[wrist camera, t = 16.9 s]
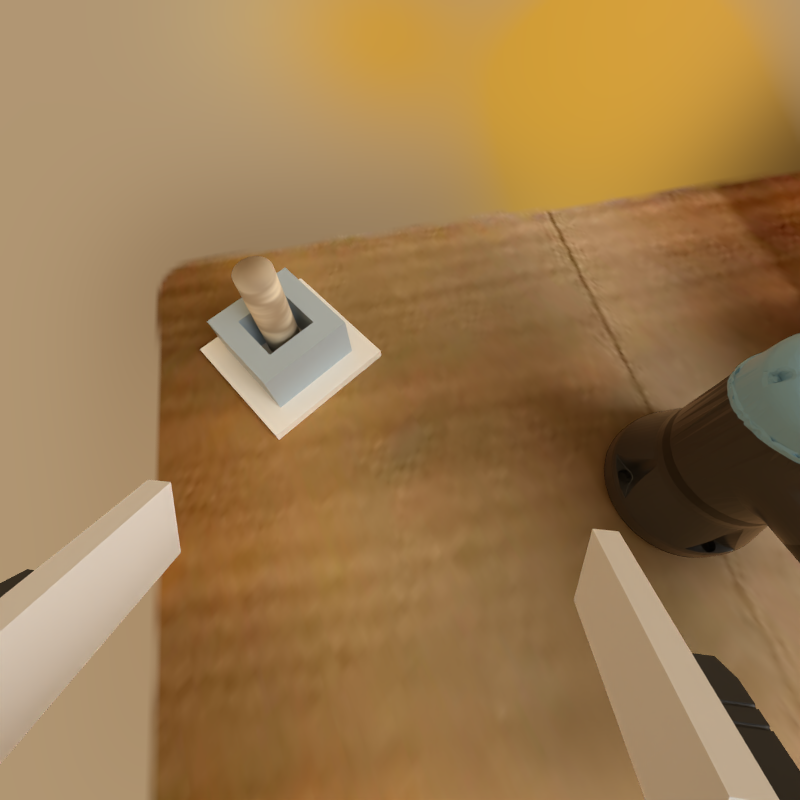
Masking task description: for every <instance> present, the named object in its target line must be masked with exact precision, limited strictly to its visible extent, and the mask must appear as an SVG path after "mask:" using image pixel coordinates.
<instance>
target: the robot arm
mask: <svg viewBox="0 0 800 800" xmlns="http://www.w3.org/2000/svg"><path fill="white" fill-rule="evenodd" d="M605 481H606V486H607V490H608V493H609V496H610V498H611V501H612V503H613V505H614V507H615V508H616V510H617V512H618V513H619V515H620V516H621V517H622V519H623V520H624V521H625V522H626V524H627V525H628V526H629V527H630V528H631V529H632V530H633V531H634V532H635V533H636V534H638V535H639V536H640V537H641V538H643V539H644V540H646V541H647V542H649V543H650V544H652V545H654V546H655V547H657V548H659V549H661V550H664V551H666V552H669V553H672V554H675V555H679V556H684V557H693V558H700V557H710V556H716V555H722V554H727V553H730V552H733V551H735V550H737V549H739V548H741V547H743V546H745V545H746V544H747V543H749V542H750V541H751V540H752V539H753V538H754V537H756V536H757V535H758V534H759V533H760V532H761V531H762V530H763V529H765V528H766V527H767V526H769V528H770V529H771V530H772V531H773V532H774V533H775V535H776V536H777V537H778V538H779V539H780V540H781V542H782V543H783V544H784V545H785V546H786V547H787V548H788V550H789V551H790V552H791V553H792V554H793V555H794V557H795V558H796V559H797V560H798V561H799V563H800V333H798V334H795V335H793V336H790V337H788V338H786V339H784V340H782V341H780V342H779V343H777V344H776V345H774V346H772V347H771V348H769V349H767V350H766V351H764V352H762V353H759V354H756V355H754V356H752V357H750V358H748V359H746V360H745V361H743V362H742V363H741V364H740V365H738V366H737V367H736V369H735V371H734V372H733V373H732V374H731V375H729V376H728V377H727V378H725V379H724V380H722V381H721V382H720V383H718V384H717V385H715V386H714V387H712V388H711V389H709V390H708V391H707V392H705V393H704V394H702V395H701V396H699V397H698V398H696V399H695V400H693V401H692V402H690V403H689V404H688V405H686V406H685V407H684V408H679V409H673V410H668V411H662V412H656V413H652V414H649V415H646V416H644V417H641V418H639V419H637V420H636V421H634V422H633V423H631V424H630V425H629V426H627V427H626V428H625V429H624V430H622V431H621V432H620V433H619V434H618V435H617V436H616V438H615V439H614V440H613V442H612V443H611V445H610V447H609V449H608V452H607V455H606V459H605ZM180 553H181V550H180V543H179V536H178V529H177V522H176V515H175V508H174V501H173V494H172V487H171V482H165V481H156V480H147V481H146V482H144V483H143V484H142V485H141V486H139V487H138V488H137V489H136V490H134V491H133V492H132V493H131V494H129V495H128V496H127V497H126V498H124V499H123V500H122V501H121V502H119V503H118V504H117V505H116V506H114V507H113V508H112V509H111V510H109V511H108V512H107V513H106V514H104V515H103V516H102V517H101V518H99V519H98V520H97V521H96V522H94V523H93V524H92V525H91V526H90V527H88V528H87V529H86V530H84V531H83V532H82V533H81V534H80V535H78V536H77V537H76V538H74V539H73V540H72V541H71V542H69V543H68V544H67V545H66V546H64V547H63V548H62V549H61V550H59V551H58V552H57V553H56V554H55V555H53V556H52V557H51V558H49V559H48V560H47V561H46V562H45V563H43V564H42V565H41V566H39V567H38V568H37V569H36V570H28V569H27V570H25V571H23V572H21V573H19V574H17V575H15V576H14V577H11V578H10V579H8V580H6V581H4V582H2V583H0V764H1V763H2V761H3V760H4V759H5V758H6V757H7V756H8V755H9V753H10V752H11V751H12V750H13V749H14V747H15V746H16V745H17V744H18V743H19V742H20V740H21V739H22V738H23V737H24V736H25V735H26V733H27V732H28V731H29V730H30V729H31V728H32V726H33V725H34V724H35V723H36V722H37V720H38V719H39V718H40V717H41V716H42V715H43V713H44V712H45V711H46V710H47V709H48V708H49V706H50V705H51V704H52V703H53V702H54V700H55V699H56V698H57V697H58V696H59V695H60V693H61V692H62V691H63V690H64V689H65V688H66V686H67V685H68V684H69V683H70V682H71V681H72V679H73V678H74V677H75V676H76V675H77V674H78V672H79V671H80V670H81V669H82V668H83V666H84V665H85V664H86V663H87V662H88V661H89V659H90V658H91V657H92V656H93V655H94V654H95V652H96V651H97V650H98V649H99V648H100V647H101V645H102V644H103V643H104V642H105V641H106V640H107V638H108V637H109V636H110V635H111V634H112V632H113V631H114V630H115V629H116V628H117V627H118V625H119V624H120V623H121V622H122V621H123V620H124V618H125V617H126V616H127V615H128V614H129V613H130V611H131V610H132V609H133V608H134V607H135V605H136V604H137V603H138V602H139V601H140V600H141V598H142V597H143V596H144V595H145V594H146V592H147V591H148V590H149V589H150V588H151V587H152V586H153V584H154V583H155V582H156V581H157V580H158V578H159V577H160V576H161V575H162V574H163V573H164V571H165V570H166V569H167V568H168V567H169V566H170V564H171V563H172V562H173V561H174V560H175V559H176V557H177V556H178V555H179V554H180ZM574 603H575V605H576V608H577V611H578V614H579V617H580V619H581V622H582V625H583V628H584V630H585V633H586V636H587V639H588V642H589V644H590V647H591V650H592V653H593V656H594V658H595V661H596V664H597V667H598V670H599V672H600V675H601V678H602V681H603V684H604V686H605V689H606V692H607V695H608V698H609V700H610V703H611V706H612V709H613V712H614V714H615V717H616V720H617V723H618V726H619V728H620V731H621V734H622V737H623V740H624V742H625V745H626V748H627V751H628V754H629V756H630V759H631V762H632V765H633V768H634V770H635V773H636V776H637V779H638V781H639V784H640V787H641V790H642V793H643V795H644V798H645V800H800V771H799V769H798V768H797V766H796V765H795V763H794V762H793V760H792V759H791V757H790V756H789V754H788V753H787V751H786V750H785V748H784V747H783V745H782V744H781V742H780V741H779V739H778V738H777V736H776V735H775V733H774V732H773V731H771V730H770V728H769V724H768V723H767V721H766V720H765V718H764V717H763V715H762V714H761V712H760V711H759V709H756V708H755V703H754V702H753V700H752V699H751V697H750V696H749V694H748V693H747V691H746V690H745V688H744V687H743V685H742V684H741V682H740V681H739V679H738V678H737V677H736V676H735V675H734V674H732V673H731V672H730V671H729V670H728V669H727V668H726V667H725V666H724V665H723V664H722V663H721V662H720V661H719V660H718V659H717V658H716V657H715V656H709V655H701V654H694V653H691V651H690V649H689V648H688V646H687V644H686V643H685V641H684V639H683V638H682V636H681V634H680V633H679V631H678V629H677V628H676V626H675V624H674V623H673V621H672V619H671V618H670V616H669V614H668V613H667V611H666V609H665V608H664V606H663V604H662V603H661V601H660V599H659V598H658V596H657V594H656V593H655V591H654V589H653V588H652V586H651V584H650V583H649V581H648V579H647V578H646V576H645V574H644V573H643V571H642V569H641V568H640V566H639V564H638V563H637V561H636V559H635V558H634V556H633V554H632V553H631V551H630V549H629V548H628V546H627V544H626V543H625V541H624V539H623V538H622V536H621V534H620V533H619V531H610V530H601V529H592V532H591V536H590V540H589V544H588V547H587V551H586V555H585V559H584V563H583V566H582V570H581V574H580V578H579V582H578V586H577V589H576V593H575V597H574Z"/></svg>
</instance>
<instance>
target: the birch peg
mask: <svg viewBox="0 0 800 800" xmlns="http://www.w3.org/2000/svg"><path fill="white" fill-rule="evenodd" d="M231 277H232V280H233V282H234V284H235V286H236V288H237V289H238V291H239V293H240V295H241V297H242V299H243V300H244V302H245V304H246V306H247V308H248V310H249V311H250V313H251V315H252V317H253V319H254V321H255V322H256V324H257V326H258V328H259V330H260V332H261V333H262V335H263V337H264V339H265V341H266V343H267V344H268V346H269V348H270V350H271V352H272V353H273V352H274V351H276V350H277V349H278V348H280V347H281V346H282V345H284V344H285V343H286V342H288V341H289V340H290V339H292V338H293V337H294V336H296V335H297V334H298V333H300V331H299V329H298V326H297V324H296V321H295V319H294V316H293V314H292V311H291V309H290V306H289V304H288V301H287V299H286V296H285V294H284V291H283V289H282V286H281V284H280V281H279V279H278V276H277V274H276V271H275V269H274V266H273V264H272V263H271V262H270V261H269V260H268V259H266V258H264V257H260V256H252V257H247V258H245V259H243V260H241V261H240V262H238V263H237V264H236V265H235V266H234V268H233V270H232V274H231Z"/></svg>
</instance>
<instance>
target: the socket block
mask: <svg viewBox="0 0 800 800" xmlns="http://www.w3.org/2000/svg"><path fill="white" fill-rule="evenodd" d="M276 274H277V276H278V279H279V281H280V284H281V286H282V289H283V291H284V294H285V296H286V299H287V301H288V304H289V306H290V309H291V311H292V314H293V316H294V319H295V321H296V324H297V326H298V329H299V331H300V333H298V334H297V335H296V336H294V337H293V338H292V339H290V340H289V341H288V342H286V343H285V344H284V345H282V346H281V347H280V348H278V349H277V350H276V351H274V352H273V353H272V352H271V350H270V348H269V346H268V344H267V343H266V341H265V339H264V337H263V335H262V333H261V332H260V330H259V328H258V326H257V324H256V322H255V321H254V319H253V317H252V315H251V313H250V311H249V310H248V308H247V306H246V304H245V302H244V300H243V299H242V298H240V299H239V300H237V301H236V302H234V303H233V304H231V305H230V306H229V307H227V308H226V309H224V310H223V311H221V312H220V313H218V314H217V315H216V316H214V317H213V318H211V319H210V320H208V321H207V322H208V324H209V325H210V326H211V328H212V329H213V330H214V332H215V333H216V335H217V336H218V337H217V338H215V339H214V340H212V341H211V342H210V343H208V344H207V345H205V346H204V347H202V348H201V349H200V350H201V351H202V353H203V354H204V355H205V356H206V357H207V358H208V359H209V361H210V362H211V363H212V364H213V365H214V366H215V367H216V369H217V370H218V371H219V372H220V373H221V374H222V375H223V377H224V378H225V379H226V380H227V381H228V382H229V383H230V384H231V386H232V387H233V388H234V389H235V390H236V391H237V392H238V394H239V395H240V396H241V397H242V398H243V399H244V400H245V402H246V403H247V404H248V405H249V406H250V407H251V408H252V409H253V411H254V412H255V413H256V414H257V415H258V416H259V417H260V419H261V420H262V421H263V422H264V423H265V424H266V425H267V427H268V428H269V429H270V430H271V431H272V432H273V433H274V434H275V436H276V437H277V438H278V439H279V440H280V439H281V438H282V437H283V436H284V435H286V434H287V433H288V432H289V431H291V430H292V429H293V428H294V427H295V426H297V425H298V424H299V423H300V422H301V421H303V420H304V419H305V418H306V417H308V416H309V415H310V414H311V413H312V412H314V411H315V410H316V409H317V408H319V407H320V406H321V405H322V404H323V403H325V402H326V401H327V400H328V399H329V398H331V397H332V396H333V395H334V394H336V393H337V392H338V391H339V390H340V389H342V388H343V387H344V386H345V385H347V384H348V383H349V382H350V381H351V380H353V379H354V378H355V377H356V376H357V375H359V374H360V373H361V372H362V371H364V370H365V369H366V368H367V367H368V366H370V365H371V364H372V363H373V362H374V361H376V360H377V359H378V358H379V357H381V351H380V350H379V349H378V348H377V347H376V346H375V345H374V344H372V343H371V342H370V341H369V340H368V339H367V338H366V337H365V336H364V335H363V334H362V333H360V332H359V331H358V330H357V329H356V328H355V327H354V326H353V325H352V324H351V323H349V322H348V321H347V320H346V319H345V318H344V317H343V316H342V315H341V314H340V313H338V312H337V311H336V310H335V309H334V308H333V307H332V306H331V305H330V304H329V303H328V302H326V301H325V300H324V299H323V298H322V297H321V296H320V295H319V294H318V293H317V292H315V291H314V290H313V289H312V288H311V287H310V286H309V285H308V284H307V283H306V282H304V281H303V280H302V279H301V278H300V279H299V280H298V279H297V278H296V277H295V276H294V275H293V274H292V273H291V272H290V271H289V270H287V269H286V268H284V269H282V270H281V271H279V272H278V273H276Z"/></svg>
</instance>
